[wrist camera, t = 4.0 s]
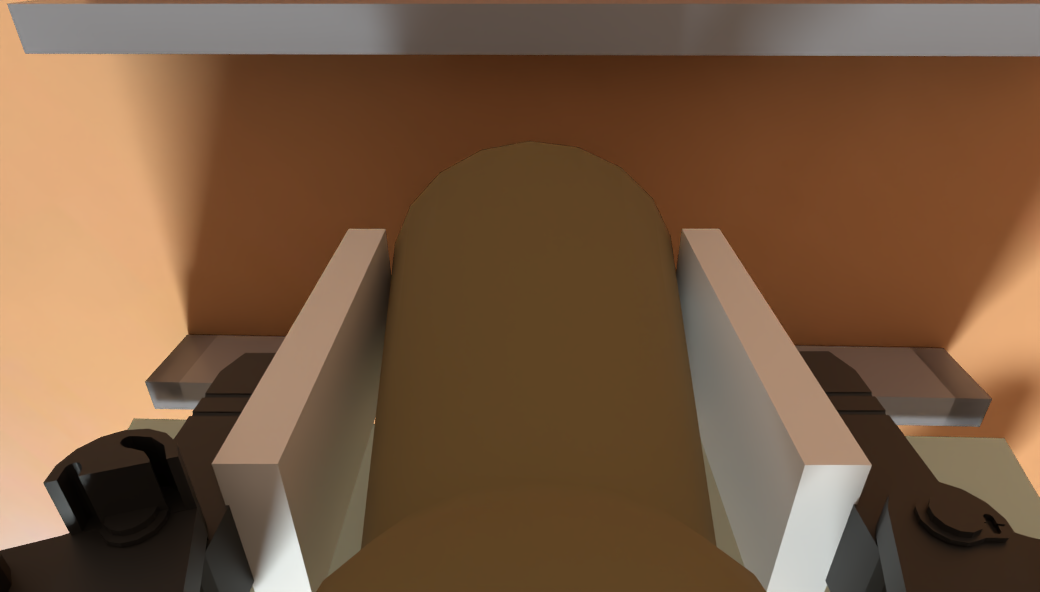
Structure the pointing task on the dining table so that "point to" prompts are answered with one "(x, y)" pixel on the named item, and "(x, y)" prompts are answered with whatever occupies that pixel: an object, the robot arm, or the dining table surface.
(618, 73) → the dining table surface
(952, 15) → the gray parallel rails
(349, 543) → the lid
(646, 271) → the olive pepper mill
